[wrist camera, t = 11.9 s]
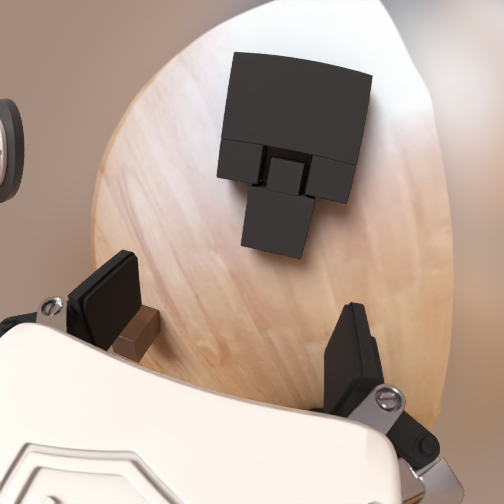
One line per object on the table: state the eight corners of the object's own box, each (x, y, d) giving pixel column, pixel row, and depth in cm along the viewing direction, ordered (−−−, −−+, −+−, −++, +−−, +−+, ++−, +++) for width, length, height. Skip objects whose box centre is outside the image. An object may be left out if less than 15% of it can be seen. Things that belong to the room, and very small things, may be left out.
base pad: (225, 172, 22) (216, 177, 20) (242, 59, 18) (233, 51, 16) (343, 196, 21) (346, 204, 19) (366, 80, 17) (372, 75, 15)
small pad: (302, 246, 24) (301, 259, 22) (247, 234, 25) (240, 246, 22) (320, 164, 21) (322, 168, 18) (259, 152, 21) (253, 155, 19)
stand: (137, 322, 33) (113, 352, 28) (133, 301, 32) (107, 331, 26) (160, 331, 33) (138, 363, 27) (158, 310, 31) (134, 342, 26)
